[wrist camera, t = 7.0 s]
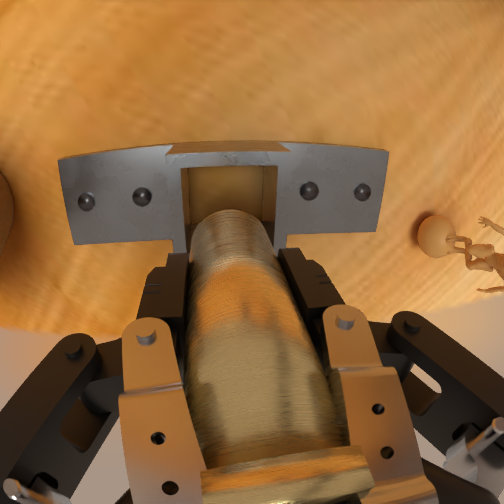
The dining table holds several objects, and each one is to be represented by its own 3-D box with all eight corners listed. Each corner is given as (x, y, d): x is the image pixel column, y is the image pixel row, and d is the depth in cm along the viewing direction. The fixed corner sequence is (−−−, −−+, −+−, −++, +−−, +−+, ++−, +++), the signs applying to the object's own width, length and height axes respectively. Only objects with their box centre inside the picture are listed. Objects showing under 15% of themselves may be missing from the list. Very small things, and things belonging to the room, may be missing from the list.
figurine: (401, 200, 23) (497, 273, 13) (446, 174, 22) (542, 230, 12) (415, 267, 27) (484, 343, 17) (454, 240, 26) (526, 304, 16)
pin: (279, 199, 12) (433, 456, 3) (273, 282, 14) (350, 509, 5) (178, 202, 12) (131, 510, 2) (186, 286, 14) (186, 533, 4)
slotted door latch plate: (383, 149, 21) (417, 163, 17) (371, 227, 24) (398, 253, 20) (62, 157, 17) (31, 174, 13) (78, 240, 21) (55, 270, 17)
